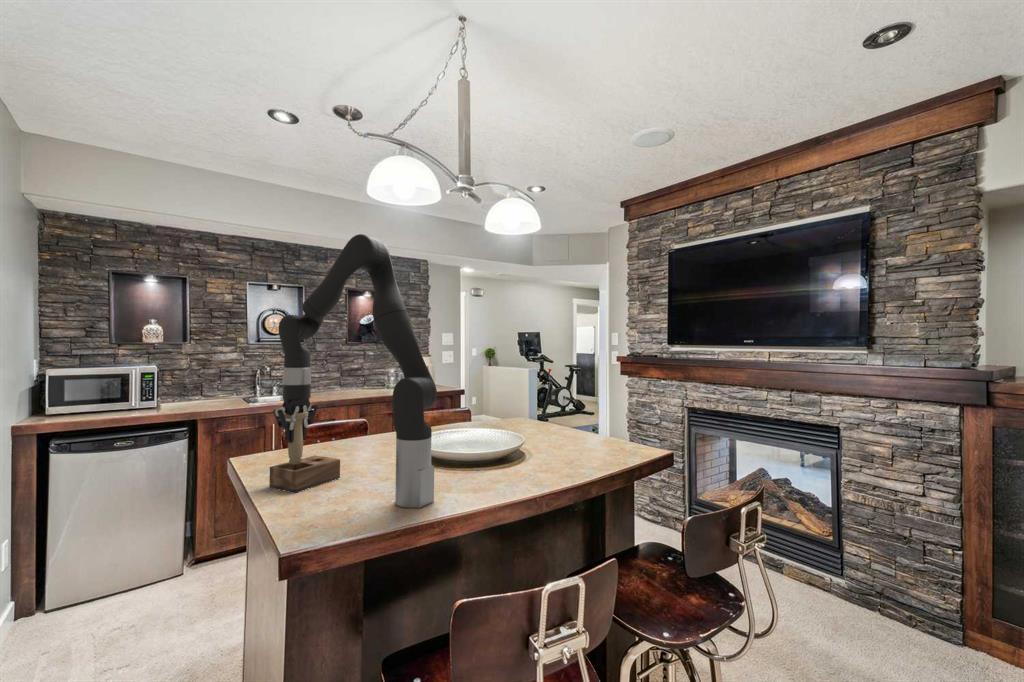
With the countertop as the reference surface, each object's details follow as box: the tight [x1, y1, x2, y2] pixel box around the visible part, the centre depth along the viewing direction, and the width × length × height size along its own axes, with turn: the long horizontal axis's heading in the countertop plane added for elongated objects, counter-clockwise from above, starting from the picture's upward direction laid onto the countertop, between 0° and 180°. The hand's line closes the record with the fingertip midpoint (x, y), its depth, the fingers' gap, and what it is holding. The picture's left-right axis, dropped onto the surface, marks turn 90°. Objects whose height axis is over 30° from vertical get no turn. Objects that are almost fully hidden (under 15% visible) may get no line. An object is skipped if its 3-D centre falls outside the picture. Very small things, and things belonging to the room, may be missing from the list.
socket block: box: [269, 455, 341, 494], centre depth 136 cm, size 11×16×6 cm
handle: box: [284, 412, 308, 465], centre depth 133 cm, size 5×6×15 cm
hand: (295, 440), depth 133 cm, fingers closed on handle, 3 cm apart
